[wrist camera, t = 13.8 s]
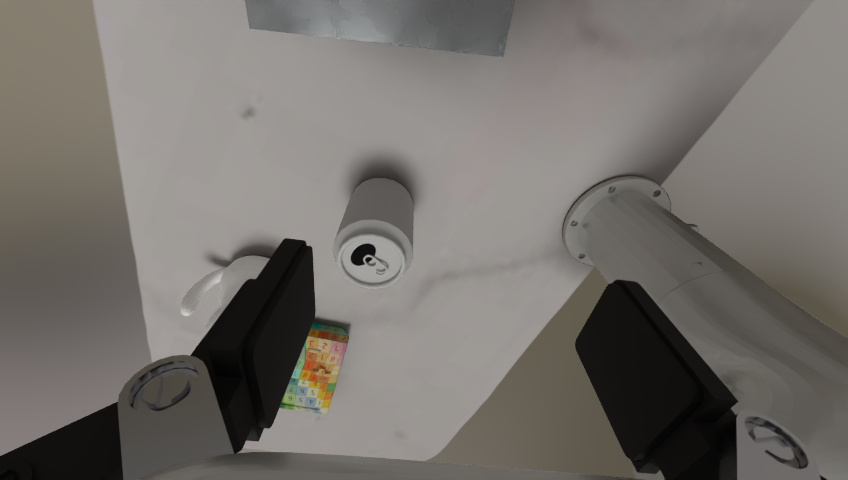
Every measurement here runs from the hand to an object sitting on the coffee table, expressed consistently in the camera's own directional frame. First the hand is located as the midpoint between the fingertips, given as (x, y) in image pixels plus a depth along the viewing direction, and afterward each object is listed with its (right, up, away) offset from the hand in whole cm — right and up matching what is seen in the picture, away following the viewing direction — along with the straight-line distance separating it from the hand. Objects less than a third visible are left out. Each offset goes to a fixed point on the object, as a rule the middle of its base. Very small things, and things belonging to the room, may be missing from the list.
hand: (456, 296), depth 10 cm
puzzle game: (-21, -18, +45) cm, 53 cm away
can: (-6, +6, +29) cm, 30 cm away
